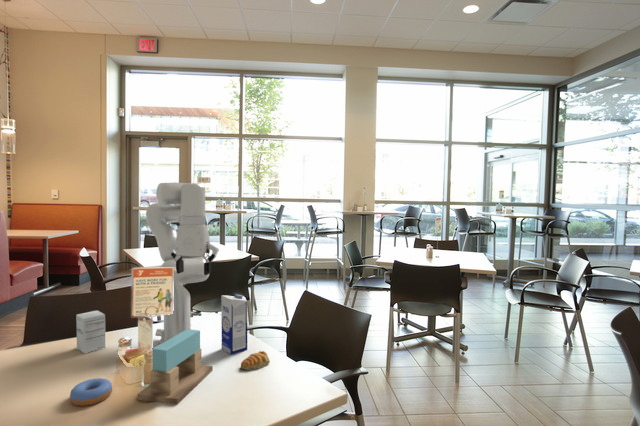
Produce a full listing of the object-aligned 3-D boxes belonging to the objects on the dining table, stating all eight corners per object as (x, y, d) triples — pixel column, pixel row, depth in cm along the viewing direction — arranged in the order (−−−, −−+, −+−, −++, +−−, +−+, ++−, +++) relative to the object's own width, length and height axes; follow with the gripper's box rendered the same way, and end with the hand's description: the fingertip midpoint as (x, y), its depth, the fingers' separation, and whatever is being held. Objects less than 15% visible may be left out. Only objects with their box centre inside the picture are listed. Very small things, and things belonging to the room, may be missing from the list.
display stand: (137, 399, 104) (137, 372, 103) (178, 367, 123) (178, 344, 123) (177, 404, 101) (177, 377, 101) (212, 370, 121) (212, 347, 120)
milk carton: (221, 348, 138) (221, 294, 137) (237, 344, 142) (237, 291, 141) (231, 355, 133) (230, 298, 132) (247, 349, 137) (247, 295, 136)
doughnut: (85, 386, 110) (85, 372, 109) (119, 389, 109) (119, 374, 109) (61, 409, 100) (60, 393, 99) (98, 412, 100) (98, 396, 99)
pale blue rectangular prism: (152, 369, 105) (152, 348, 104) (187, 347, 120) (187, 329, 120) (166, 372, 104) (166, 350, 103) (200, 349, 119) (199, 330, 119)
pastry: (248, 374, 119) (248, 362, 119) (235, 367, 124) (235, 356, 124) (271, 364, 126) (271, 353, 126) (258, 358, 131) (258, 347, 130)
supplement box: (76, 348, 137) (75, 314, 136) (98, 342, 143) (98, 309, 142) (83, 354, 132) (82, 318, 132) (106, 348, 138) (105, 313, 137)
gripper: (162, 221, 121) (163, 274, 122) (212, 222, 118) (212, 277, 119) (175, 220, 128) (176, 270, 129) (223, 221, 125) (223, 272, 126)
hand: (193, 273), depth 124 cm, fingers open, 9 cm apart
